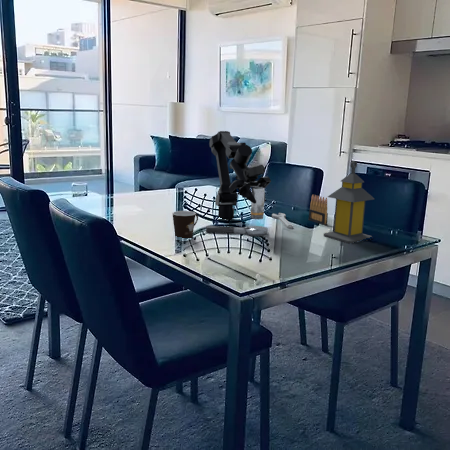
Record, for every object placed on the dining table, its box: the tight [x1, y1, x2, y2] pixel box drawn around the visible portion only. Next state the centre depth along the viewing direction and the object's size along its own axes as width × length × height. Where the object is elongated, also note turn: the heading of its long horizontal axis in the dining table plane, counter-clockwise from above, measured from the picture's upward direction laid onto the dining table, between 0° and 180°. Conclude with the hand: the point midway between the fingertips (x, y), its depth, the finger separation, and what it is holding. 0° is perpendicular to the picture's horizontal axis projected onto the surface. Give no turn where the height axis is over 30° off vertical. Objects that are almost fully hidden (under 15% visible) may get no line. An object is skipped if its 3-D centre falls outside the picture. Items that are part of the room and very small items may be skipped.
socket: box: [250, 187, 266, 220], centre depth 194 cm, size 5×5×12 cm
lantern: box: [323, 160, 375, 244], centre depth 192 cm, size 14×14×30 cm
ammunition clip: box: [308, 194, 329, 226], centre depth 218 cm, size 11×2×12 cm, turn 30°
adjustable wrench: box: [271, 212, 294, 230], centre depth 218 cm, size 25×6×2 cm, turn 3°
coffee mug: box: [172, 210, 199, 239], centre depth 186 cm, size 12×9×10 cm
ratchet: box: [205, 225, 269, 237], centre depth 197 cm, size 24×9×2 cm, turn 86°
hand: (260, 202), depth 193 cm, fingers closed on socket, 5 cm apart
